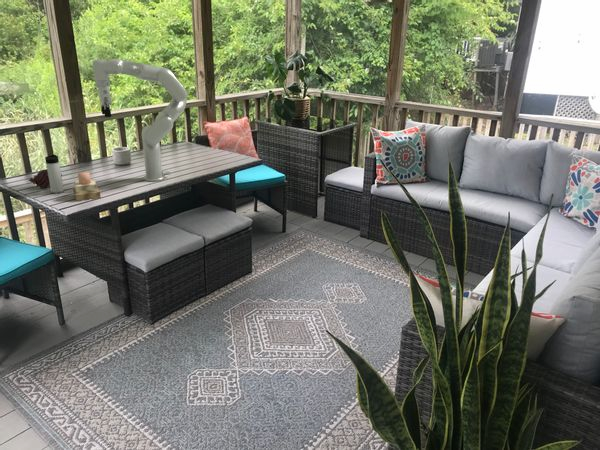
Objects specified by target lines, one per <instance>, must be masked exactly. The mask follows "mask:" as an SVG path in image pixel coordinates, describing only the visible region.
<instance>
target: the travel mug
mask: <svg viewBox="0 0 600 450" xmlns="http://www.w3.org/2000/svg"><path fill="white" fill-rule="evenodd" d="M44 159H45V165H46V170H47V172H48V177H49V183H50V185H49V187H50V188H49V189H50V192H51V194H54V195H57V194H58V195H59V194H63V193H64V192H65V190H64V185H63V176H62V177H61V174H62V172H61V165H60V159H59V156H58V155H56V154H51V155H47V156H46V157H45V158H44Z"/></svg>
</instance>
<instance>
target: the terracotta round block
mask: <svg viewBox="0 0 600 450" xmlns="http://www.w3.org/2000/svg"><path fill="white" fill-rule="evenodd" d="M77 177H78V181H79V184H89V183H91V181H90V180H91V175H90V172H88V171H83V172H79V173H77Z"/></svg>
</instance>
